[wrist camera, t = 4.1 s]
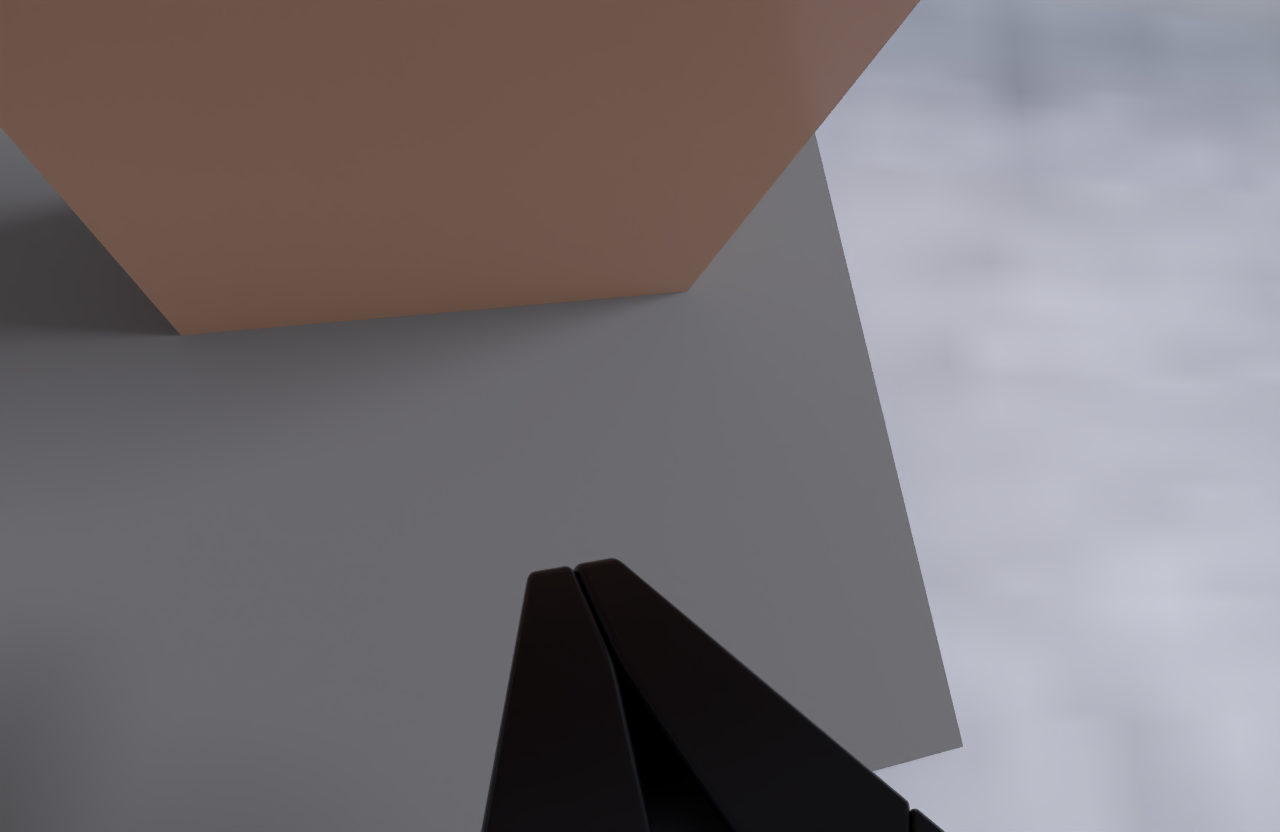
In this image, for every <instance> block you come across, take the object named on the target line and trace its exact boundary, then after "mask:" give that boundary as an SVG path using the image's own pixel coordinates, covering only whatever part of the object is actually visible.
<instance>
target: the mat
mask: <svg viewBox="0 0 1280 832" xmlns="http://www.w3.org/2000/svg"><path fill="white" fill-rule="evenodd" d="M608 558H615V559H618V560H620V561H621V562H623V563H624V564H625V565H626V566H627V567H629V568H630V569H631V570H632V571H633V572H635V573H636V574H637V575H638V576H639V577H641V578H642V579H643V580H644V581H645V582H647V583H648V584H649V585H650V586H651V587H653V588H654V589H655V590H656V591H657V592H658V593H660V594H661V595H662V596H663V597H664V598H666V599H667V600H668V601H669V602H670V603H672V604H673V605H674V606H675V607H676V608H678V609H679V610H680V611H681V612H682V613H684V614H685V615H686V616H687V617H688V618H690V619H691V620H692V621H693V622H694V623H695V624H697V625H698V626H699V627H700V628H701V629H703V630H704V631H705V632H706V633H707V634H709V635H710V636H711V637H712V638H713V639H715V640H716V641H717V642H718V643H719V644H721V645H722V646H723V647H724V648H725V649H727V650H728V651H729V652H730V653H731V654H732V655H734V656H735V657H736V658H737V659H738V660H740V661H741V662H742V663H743V664H744V665H746V666H747V667H748V668H749V669H750V670H752V671H753V672H754V673H755V674H756V675H758V676H759V677H760V678H761V679H762V680H764V681H765V682H766V683H767V684H768V685H769V686H771V687H772V688H773V689H774V690H775V691H777V692H778V693H779V694H780V695H781V696H783V697H784V698H785V699H786V700H787V701H789V702H790V703H791V704H792V705H793V706H795V707H796V708H797V709H798V710H799V711H801V712H802V713H803V714H804V715H805V716H806V717H808V718H809V719H810V720H811V721H812V722H814V723H815V724H816V725H817V726H818V727H820V728H821V729H822V730H823V731H824V732H826V733H827V734H828V735H829V736H830V737H832V738H833V739H834V740H835V741H836V742H838V743H839V744H840V745H841V746H842V747H843V748H845V749H846V750H847V751H848V752H849V753H851V754H852V755H853V756H854V757H855V758H857V759H858V760H859V761H860V762H861V763H863V764H864V765H865V766H866V767H867V768H869V769H870V770H871V771H875V770H878V769H882V768H886V767H889V766H893V765H897V764H900V763H904V762H908V761H911V760H915V759H919V758H922V757H926V756H930V755H933V754H937V753H941V752H944V751H948V750H952V749H955V748H959V747H963V744H962V740H961V736H960V732H959V728H958V724H957V719H956V715H955V711H954V707H953V703H952V699H951V695H950V691H949V686H948V682H947V678H946V674H945V670H944V666H943V662H942V657H941V653H940V649H939V645H938V641H937V637H936V633H935V628H934V624H933V620H932V616H931V612H930V608H929V604H928V599H927V595H926V591H925V587H924V583H923V579H922V575H921V570H920V566H919V562H918V558H917V554H916V550H915V546H914V542H913V537H912V533H911V529H910V525H909V521H908V517H907V513H906V508H905V504H904V500H903V496H902V492H901V488H900V484H899V479H898V475H897V471H896V467H895V463H894V459H893V455H892V450H891V446H890V442H889V438H888V434H887V430H886V426H885V421H884V417H883V413H882V409H881V405H880V401H879V397H878V393H877V388H876V384H875V380H874V376H873V372H872V368H871V364H870V359H869V355H868V351H867V347H866V343H865V339H864V335H863V330H862V326H861V322H860V318H859V314H858V310H857V306H856V301H855V297H854V293H853V289H852V285H851V281H850V277H849V272H848V268H847V264H846V260H845V256H844V252H843V248H842V244H841V239H840V235H839V231H838V227H837V223H836V219H835V215H834V210H833V206H832V202H831V198H830V194H829V190H828V186H827V181H826V177H825V173H824V169H823V165H822V161H821V157H820V152H819V148H818V144H817V140H816V136H815V133H814V134H813V135H812V136H811V138H810V139H809V140H808V141H807V143H806V144H805V145H804V146H803V148H802V149H801V150H800V151H799V153H798V154H797V155H796V156H795V158H794V159H793V160H792V161H791V163H790V164H789V165H788V166H787V168H786V169H785V170H784V171H783V173H782V174H781V175H780V176H779V178H778V179H777V180H776V181H775V183H774V184H773V185H772V186H771V188H770V189H769V190H768V191H767V193H766V194H765V195H764V196H763V198H762V199H761V200H760V201H759V203H758V204H757V205H756V206H755V208H754V209H753V210H752V211H751V213H750V214H749V215H748V216H747V218H746V219H745V220H744V221H743V223H742V224H741V225H740V226H739V228H738V229H737V230H736V231H735V233H734V234H733V235H732V236H731V238H730V239H729V240H728V241H727V243H726V244H725V245H724V246H723V248H722V249H721V250H720V251H719V253H718V254H717V255H716V256H715V258H714V259H713V260H712V262H711V263H710V264H709V265H708V267H707V268H706V269H705V270H704V272H703V273H702V274H701V275H700V277H699V278H698V279H697V280H696V282H695V283H694V284H693V285H692V287H691V288H690V289H689V290H688V292H677V293H665V294H654V295H642V296H631V297H619V298H607V299H596V300H584V301H573V302H561V303H550V304H538V305H527V306H515V307H504V308H492V309H481V310H469V311H458V312H446V313H434V314H423V315H411V316H400V317H388V318H377V319H365V320H354V321H342V322H331V323H319V324H308V325H296V326H285V327H273V328H261V329H250V330H238V331H227V332H215V333H204V334H192V335H180V334H179V333H178V331H177V330H176V329H175V328H174V327H173V326H172V325H171V323H170V322H169V321H168V320H167V319H166V318H165V316H164V315H163V314H162V313H161V312H160V311H159V309H158V308H157V307H156V306H155V305H154V304H153V303H152V301H151V300H150V299H149V298H148V297H147V296H146V294H145V293H144V292H143V291H142V290H141V289H140V288H139V286H138V285H137V284H136V283H135V282H134V281H133V279H132V278H131V277H130V276H129V275H128V274H127V273H126V271H125V270H124V269H123V268H122V267H121V266H120V264H119V263H118V262H117V261H116V260H115V259H114V257H113V256H112V255H111V254H110V253H109V252H108V251H107V249H106V248H105V247H104V246H103V245H102V244H101V242H100V241H99V240H98V239H97V238H96V237H95V236H94V234H93V233H92V232H91V231H90V230H89V229H88V227H87V226H86V225H85V224H84V223H83V222H82V221H81V219H80V218H79V217H78V216H77V215H76V214H75V212H74V211H73V210H72V209H71V208H70V207H69V206H68V204H67V203H66V202H65V201H64V200H63V199H62V197H61V196H60V195H59V194H58V193H57V192H56V190H55V189H54V188H53V187H52V186H51V185H50V184H49V182H48V181H47V180H46V179H45V178H44V177H43V175H42V174H41V173H40V172H39V171H38V170H37V169H36V167H35V166H34V165H33V164H32V163H31V162H30V160H29V159H28V158H27V157H26V156H25V155H24V154H23V152H22V151H21V150H20V149H19V148H18V147H17V145H16V144H15V143H14V142H13V141H12V140H11V139H10V137H9V136H8V135H7V134H6V133H5V132H4V130H3V129H2V128H1V127H0V832H481V829H482V823H483V818H484V812H485V807H486V801H487V796H488V791H489V785H490V780H491V774H492V769H493V763H494V758H495V752H496V747H497V741H498V736H499V730H500V725H501V719H502V714H503V708H504V703H505V697H506V692H507V686H508V681H509V675H510V670H511V664H512V659H513V653H514V648H515V642H516V637H517V631H518V626H519V620H520V615H521V609H522V604H523V599H524V593H525V588H526V582H527V578H528V576H529V574H530V573H532V572H534V571H539V570H545V569H551V568H556V567H562V566H568V567H570V568H572V569H573V570H574V568H575V567H576V566H577V565H578V564H580V563H585V562H591V561H596V560H602V559H608Z"/></svg>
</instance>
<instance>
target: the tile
mask: <svg viewBox="0 0 1280 832" xmlns="http://www.w3.org/2000/svg"><path fill="white" fill-rule="evenodd" d="M919 1H920V0H0V127H1V128H2V129H3V130H4V132H5V133H6V134H7V135H8V136H9V137H10V139H11V140H12V141H13V142H14V143H15V144H16V145H17V147H18V148H19V149H20V150H21V151H22V152H23V154H24V155H25V156H26V157H27V158H28V159H29V160H30V162H31V163H32V164H33V165H34V166H35V167H36V169H37V170H38V171H39V172H40V173H41V174H42V175H43V177H44V178H45V179H46V180H47V181H48V182H49V184H50V185H51V186H52V187H53V188H54V189H55V190H56V192H57V193H58V194H59V195H60V196H61V197H62V199H63V200H64V201H65V202H66V203H67V204H68V206H69V207H70V208H71V209H72V210H73V211H74V212H75V214H76V215H77V216H78V217H79V218H80V219H81V221H82V222H83V223H84V224H85V225H86V226H87V227H88V229H89V230H90V231H91V232H92V233H93V234H94V236H95V237H96V238H97V239H98V240H99V241H100V242H101V244H102V245H103V246H104V247H105V248H106V249H107V251H108V252H109V253H110V254H111V255H112V256H113V257H114V259H115V260H116V261H117V262H118V263H119V264H120V266H121V267H122V268H123V269H124V270H125V271H126V273H127V274H128V275H129V276H130V277H131V278H132V279H133V281H134V282H135V283H136V284H137V285H138V286H139V288H140V289H141V290H142V291H143V292H144V293H145V294H146V296H147V297H148V298H149V299H150V300H151V301H152V303H153V304H154V305H155V306H156V307H157V308H158V309H159V311H160V312H161V313H162V314H163V315H164V316H165V318H166V319H167V320H168V321H169V322H170V323H171V325H172V326H173V327H174V328H175V329H176V330H177V331H178V333H179V334H180V335H192V334H204V333H215V332H227V331H238V330H250V329H261V328H273V327H285V326H296V325H308V324H319V323H331V322H342V321H354V320H365V319H377V318H388V317H400V316H411V315H423V314H434V313H446V312H458V311H469V310H481V309H492V308H504V307H515V306H527V305H538V304H550V303H561V302H573V301H584V300H596V299H607V298H619V297H631V296H642V295H654V294H665V293H677V292H688V290H689V289H690V288H691V287H692V285H693V284H694V283H695V282H696V280H697V279H698V278H699V277H700V275H701V274H702V273H703V272H704V270H705V269H706V268H707V267H708V265H709V264H710V263H711V262H712V260H713V259H714V258H715V256H716V255H717V254H718V253H719V251H720V250H721V249H722V248H723V246H724V245H725V244H726V243H727V241H728V240H729V239H730V238H731V236H732V235H733V234H734V233H735V231H736V230H737V229H738V228H739V226H740V225H741V224H742V223H743V221H744V220H745V219H746V218H747V216H748V215H749V214H750V213H751V211H752V210H753V209H754V208H755V206H756V205H757V204H758V203H759V201H760V200H761V199H762V198H763V196H764V195H765V194H766V193H767V191H768V190H769V189H770V188H771V186H772V185H773V184H774V183H775V181H776V180H777V179H778V178H779V176H780V175H781V174H782V173H783V171H784V170H785V169H786V168H787V166H788V165H789V164H790V163H791V161H792V160H793V159H794V158H795V156H796V155H797V154H798V153H799V151H800V150H801V149H802V148H803V146H804V145H805V144H806V143H807V141H808V140H809V139H810V138H811V136H812V135H813V134H814V133H815V131H816V130H817V129H818V128H819V126H820V125H821V124H822V123H823V121H824V120H825V119H826V118H827V116H828V115H829V114H830V113H831V111H832V110H833V109H834V108H835V106H836V105H837V104H838V103H839V101H840V100H841V99H842V98H843V96H844V95H845V94H846V93H847V91H848V90H849V89H850V88H851V86H852V85H853V84H854V83H855V81H856V80H857V79H858V78H859V76H860V75H861V74H862V73H863V71H864V70H865V69H866V68H867V66H868V65H869V64H870V63H871V61H872V60H873V59H874V58H875V56H876V55H877V54H878V53H879V51H880V50H881V49H882V48H883V46H884V45H885V44H886V43H887V41H888V40H889V39H890V38H891V36H892V35H893V34H894V33H895V31H896V30H897V29H898V28H899V26H900V25H901V24H902V23H903V21H904V20H905V19H906V18H907V16H908V15H909V14H910V13H911V11H912V10H913V9H914V8H915V6H916V5H917V4H918V3H919Z"/></svg>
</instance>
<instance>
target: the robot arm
mask: <svg viewBox="0 0 1280 832" xmlns="http://www.w3.org/2000/svg"><path fill="white" fill-rule="evenodd" d="M481 832H944V831H943V830H942V829H941V828H940V827H938V826H937V825H936V824H935V823H934V822H932V821H931V820H930V819H929V818H928V817H926V816H925V815H924V814H923V813H922V812H920V811H919V810H918V809H912V810H911V811H910V809H909V803H908V801H907V800H906V799H904V798H903V797H902V796H901V795H900V794H898V793H897V792H896V791H895V790H894V789H892V788H891V787H890V786H889V785H888V784H886V783H885V782H884V781H883V780H882V779H881V778H879V777H878V776H877V775H876V774H875V773H873V772H872V771H871V770H870V769H869V768H867V767H866V766H865V765H864V764H863V763H861V762H860V761H859V760H858V759H857V758H855V757H854V756H853V755H852V754H851V753H849V752H848V751H847V750H846V749H845V748H843V747H842V746H841V745H840V744H839V743H838V742H836V741H835V740H834V739H833V738H832V737H830V736H829V735H828V734H827V733H826V732H824V731H823V730H822V729H821V728H820V727H818V726H817V725H816V724H815V723H814V722H812V721H811V720H810V719H809V718H808V717H806V716H805V715H804V714H803V713H802V712H801V711H799V710H798V709H797V708H796V707H795V706H793V705H792V704H791V703H790V702H789V701H787V700H786V699H785V698H784V697H783V696H781V695H780V694H779V693H778V692H777V691H775V690H774V689H773V688H772V687H771V686H769V685H768V684H767V683H766V682H765V681H764V680H762V679H761V678H760V677H759V676H758V675H756V674H755V673H754V672H753V671H752V670H750V669H749V668H748V667H747V666H746V665H744V664H743V663H742V662H741V661H740V660H738V659H737V658H736V657H735V656H734V655H732V654H731V653H730V652H729V651H728V650H727V649H725V648H724V647H723V646H722V645H721V644H719V643H718V642H717V641H716V640H715V639H713V638H712V637H711V636H710V635H709V634H707V633H706V632H705V631H704V630H703V629H701V628H700V627H699V626H698V625H697V624H695V623H694V622H693V621H692V620H691V619H690V618H688V617H687V616H686V615H685V614H684V613H682V612H681V611H680V610H679V609H678V608H676V607H675V606H674V605H673V604H672V603H670V602H669V601H668V600H667V599H666V598H664V597H663V596H662V595H661V594H660V593H658V592H657V591H656V590H655V589H654V588H653V587H651V586H650V585H649V584H648V583H647V582H645V581H644V580H643V579H642V578H641V577H639V576H638V575H637V574H636V573H635V572H633V571H632V570H631V569H630V568H629V567H627V566H626V565H625V564H624V563H623V562H621V561H620V560H618V559H615V558H608V559H602V560H596V561H591V562H585V563H580V564H578V565H577V566H576V567H575V568H574V570H573V569H572V568H570V567H568V566H562V567H556V568H551V569H545V570H539V571H534V572H532V573H530V574H529V576H528V578H527V582H526V588H525V593H524V599H523V604H522V609H521V615H520V620H519V626H518V631H517V637H516V642H515V648H514V653H513V659H512V664H511V670H510V675H509V681H508V686H507V692H506V697H505V703H504V708H503V714H502V719H501V725H500V730H499V736H498V741H497V747H496V752H495V758H494V763H493V769H492V774H491V780H490V785H489V791H488V796H487V801H486V807H485V812H484V818H483V823H482V829H481Z"/></svg>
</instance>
